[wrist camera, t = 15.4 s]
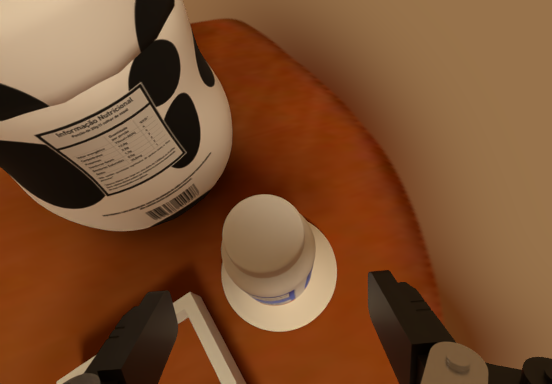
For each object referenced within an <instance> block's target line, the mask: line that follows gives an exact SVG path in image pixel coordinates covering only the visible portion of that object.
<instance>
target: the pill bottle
mask: <svg viewBox="0 0 552 384" xmlns="http://www.w3.org/2000/svg"><path fill="white" fill-rule="evenodd" d="M315 252H316V245H315V238H314V235H313V232H312V230H311V227H310V226H309V224H308V222H307V221H306V219H305V218H304V217H303V216H302V215H301V214H300V213H299V212H298V211H297V210H296V208H295V207H294V206H293V205H292V204H291V203H289V202H288V201H287V200H285V199H283V198H281V197H278V196H275V195H269V194H260V195H254V196H251V197H248V198H246V199H244V200H242V201H241V202H239V203H238V204H237V205H236V206H235V207H233V209H232V210H231V211H230V212H229V214H228V216H227V218H226V220H225V222H224V226H223V231H222V245H221V255H222V261H223V264H224V267H225V270H226V272H227V274H228V275H229V277H230V278H231V280H232V281H233V282H234V283H235V284H236V285H237V286H238V287H239V288H240V289H242V290H243V291H244V292H245V293H247V294H248V295H249V296H251V297H252V298H253V299H255V300H256V301H258V302H260V303H262V304H264V305H269V306H280V305H284V304H288V303H290V302H292V301H294V300H295V299H296V298H298V297H299V296H300V295H301V294H302V293H303V292H304V290H305V289H306V287H307V285H308V283H309V281H310V278H311V273H312V268H313V264H314V260H315Z"/></svg>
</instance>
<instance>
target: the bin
mask: <svg viewBox="0 0 552 384" xmlns="http://www.w3.org/2000/svg"><path fill="white" fill-rule="evenodd" d="M173 306H174V310H175V313H176V317H177V322H178V324H179V323H180V322H182V321H183V320H185V319H186V318H188V317H189V319H190V321H191V323H192V325H193V327H194V329H195V331H196V333H197V335H198V337H199V339H200V341H201V343H202V345H203V347H204V349H205V351H206V353H207V355H208V357H209V359H210V362H211V364H212V366H213V368H214V370H215V372H216V374H217V376H218V378H219V380H220V382H221V384H246V382H245V380H244V378H243V376H242V374H241V372H240V371H239V369H238V367H237V365H236V363H235V361H234V359H233V357H232V355H231V353H230V351H229V350H228V348H227V346H226V344H225V342H224V340H223V338H222V336H221V334H220V332H219V331H218V329H217V327H216V325H215V323H214V321H213V319H212V317H211V315H210V313H209V311H208V310H207V308H206V306H205V304H204V302H203V300H202V298H201V296H199V295H196V294H194V293H192V292H189V293H187V294H186V295H184V296H183V297H181V298H180V299H178V300H177V301H175V302H174V303H173ZM95 356H96V355H95ZM95 356H94V357H95ZM94 357H92V358H91V359H89V360H88V361H87V362H85V363H84V364H82V365H81V366H79V367H78V368H76V369H75V370H73V371H72V372H70V373H69V374H67V375H66V376H64V377H63V378H61V379H60V380H58V381H57V384H63V383H65V382H66V381H68V380H69V379H71V378H73V377H75V376H78V375H81V374H83V373H84V372H85V371H86V369H87V368H88V366H89V365H90V363H91V362H92V360H93V359H94Z"/></svg>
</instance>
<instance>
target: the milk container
mask: <svg viewBox="0 0 552 384" xmlns="http://www.w3.org/2000/svg"><path fill="white" fill-rule="evenodd" d="M231 147H232V119H231V113H230V107H229V104H228V100H227V97H226V94H225V92H224V90H223V87H222V85H221V83H220V81H219V80H218V78H217V76H216V75H215V73H214V72H213V70H212V69H211V67H210V66H209V65H208V63H207V62H206V60H205V59H204V57H203V56H202V54H201V53H200V51H199V49H198V46H197V44H196V41H195V38H194V35H193V32H192V29H191V26H190V22H189V19H188V16H187V13H186V9H185V6H184V3H183V0H0V167H1V168H2V169H4V170H5V171H6V172H7V173H8V174H9V175H10V176H11V177H12V178H13V179H14V180H15V181H16V182H17V183H18V184H19V186H20V187H21V188H22V189H23V190H24V191H25V192H26V193H27V194H28V195H29V196H30V197H32V198H33V199H34V200H35V201H36V202H38V203H39V204H40V205H42V206H43V207H45V208H46V209H48V210H49V211H51V212H53V213H55V214H57V215H59V216H61V217H63V218H65V219H67V220H70V221H73V222H75V223H78V224H81V225H85V226H89V227H93V228H98V229H103V230H109V231H133V230H140V229H145V228H149V227H152V226H155V225H159V224H161V223H164V222H167V221H170V220H172V219H174V218H176V217H178V216H180V215H181V214H183V213H185V212H186V211H187V210H189V209H190V208H191V207H193V206H194V205H196V204H197V203H198V202H199V201H201V200H202V199H203V198H204V197H205V196H206V195H207V194H208V193H209V191H210V190H211V189H212V187H213V186H214V185H215V184H216V182H217V181H218V179H219V178H220V176H221V175H222V173H223V171H224V169H225V167H226V164H227V162H228V159H229V156H230V152H231Z"/></svg>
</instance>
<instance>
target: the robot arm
mask: <svg viewBox="0 0 552 384" xmlns="http://www.w3.org/2000/svg"><path fill="white" fill-rule="evenodd" d="M368 308H369V314H370V317H371V320H372V323H373V325H374V327H375V330H376V332H377V334H378V336H379V339H380V341H381V343H382V345H383V348H384V350H385V352H386V355H387V357H388V359H389V361H390V364H391V366H392V368H393V370H394V373H395V375H396V377H397V379H398V382H399V384H552V359H549V358H544V357H532V358H529V359H527V360H526V361H525V362H524V364H523V368H522V370H519V369H514V368H508V367H503V366H497V365H493V364H489V363H486V362H484V360H483V359H482V358H481V357H480V356H479V355H478V354H477V353H475V352H474V351H473V350H471V349H470V348H468V347H466V346H463V345H461V344H458V343H456V342H455V340H454V339H453V338H452V336H451V335H450V334H449V332H448V331H447V330H446V328H445V327H444V326H443V324H442V323H441V322H440V320H439V319H438V318H437V316H436V315H435V314H434V312H433V311H431V308H430V307H429V306H428V304H427V303H426V302H425V301H424V299H423V298H422V296H421V295H420V294H419V292H418V291H417V290H416V289H415V288H413V287H412V286H410V285H409V284H407V283H406V282H400V283H397V281H396V280H395V278H394V277H393V275H392V274H391V272H390V271H389V270H384V271H374V272H369V273H368ZM177 333H178V322H177V317H176V313H175V310H174V306H173V302H172V298H171V294H170V292H169V291H167V290H166V291H156V292H148V293H147V294H146V295H145V297H144V299H143V300H142V302H141V303H140V305H139V306H136V307H133V308H132V309H131V310H130V311H129V312H127V313H126V314H125V315H124V316H123V317H122V318H121V320H120V321H119V323H118V324H117V326H116V327H115V330H113V331H112V333H111V334H110V336H109V339H107V340H106V341H105V343H104V344H103V346H102V347H101V349H100V350H99V352H98V353H97V355H96V356H95V357H94V359H93V360H92V362H91V363H90V365H89V366H88V368H87V369H86V371H85V372H84V373H83V374H81V375H78V376H75V377H73V378H71V379H69V380H68V381H66V382H65V383H63V384H158V382H159V380H160V377H161V375H162V372H163V370H164V367H165V365H166V362H167V360H168V357H169V355H170V352H171V350H172V347H173V345H174V342H175V340H176V337H177Z"/></svg>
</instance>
